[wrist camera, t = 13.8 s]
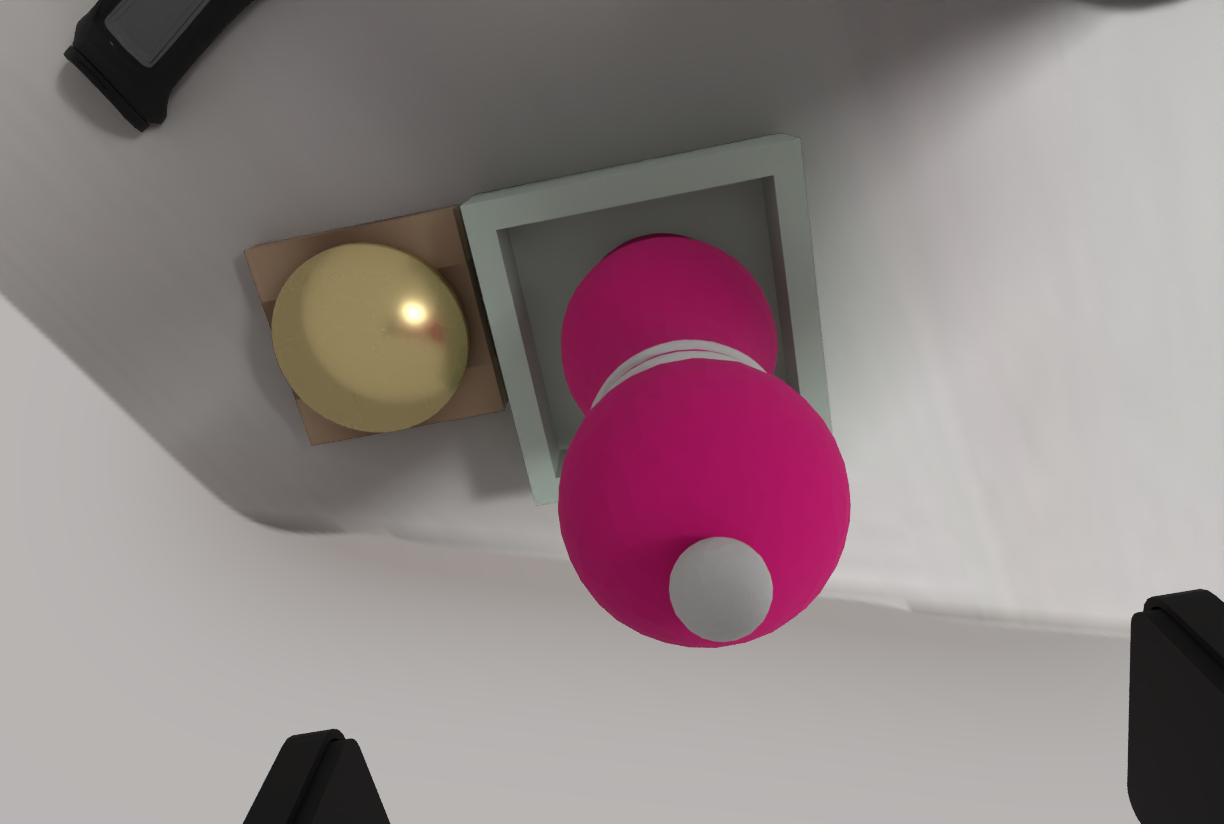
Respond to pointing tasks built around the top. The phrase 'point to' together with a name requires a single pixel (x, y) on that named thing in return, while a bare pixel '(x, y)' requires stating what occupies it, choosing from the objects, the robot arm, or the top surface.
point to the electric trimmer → (146, 49)
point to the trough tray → (611, 215)
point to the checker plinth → (436, 243)
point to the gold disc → (371, 336)
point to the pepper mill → (692, 451)
